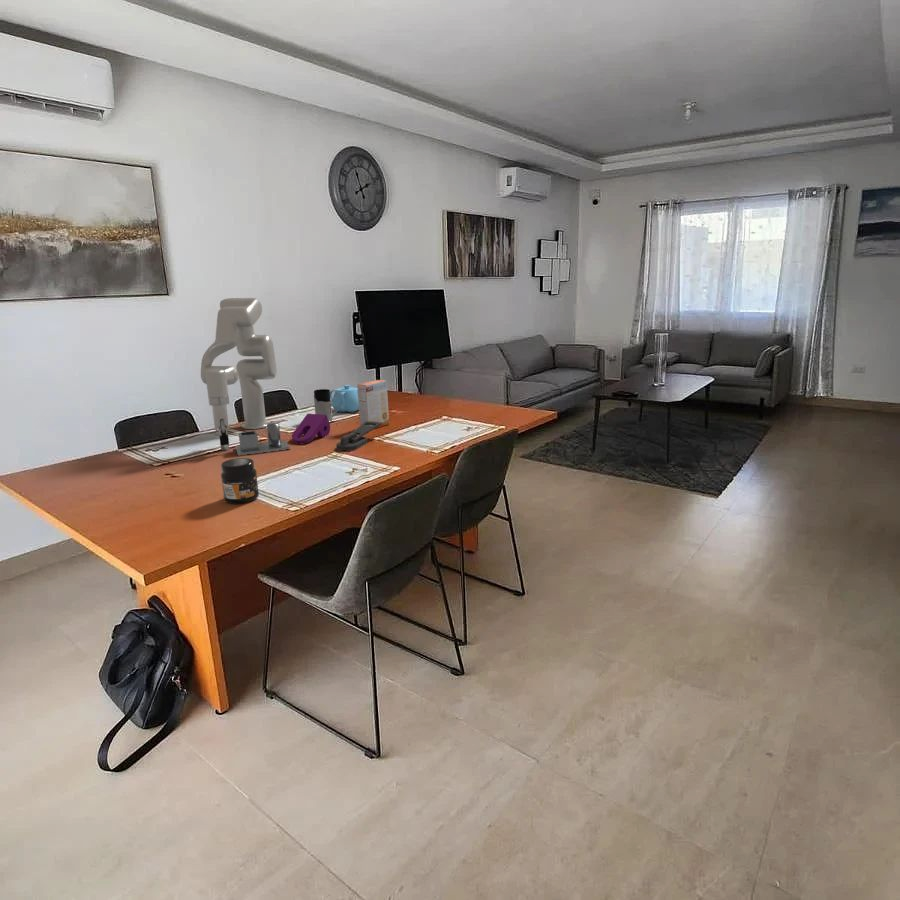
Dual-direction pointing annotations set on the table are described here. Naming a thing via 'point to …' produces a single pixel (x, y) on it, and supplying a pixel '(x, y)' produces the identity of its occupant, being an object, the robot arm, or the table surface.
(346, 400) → the decorative pot
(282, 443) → the grey fixture stand
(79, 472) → the table surface
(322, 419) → the mounting bracket
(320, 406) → the black and grey mug
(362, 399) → the cracker box
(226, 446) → the locking pin
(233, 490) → the supplement container
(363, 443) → the zipper pull
